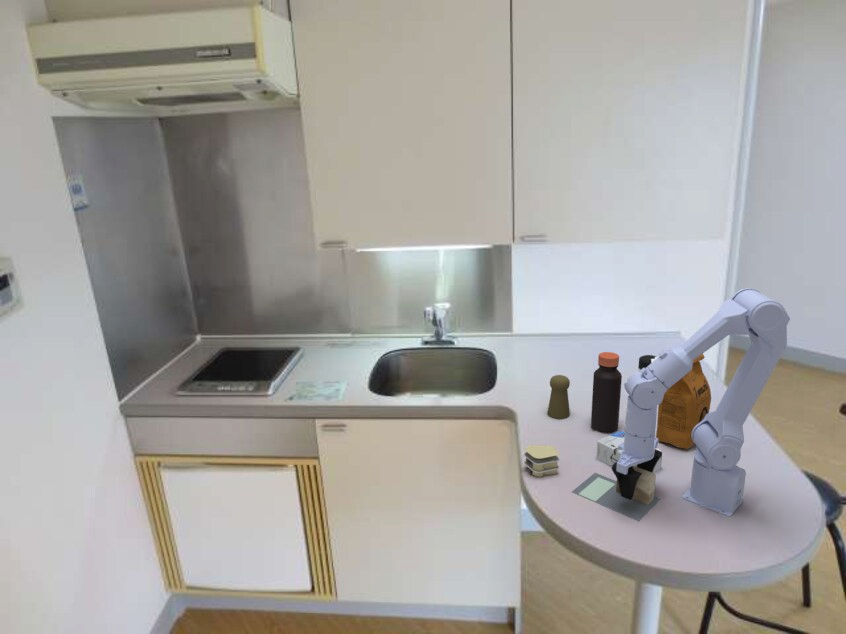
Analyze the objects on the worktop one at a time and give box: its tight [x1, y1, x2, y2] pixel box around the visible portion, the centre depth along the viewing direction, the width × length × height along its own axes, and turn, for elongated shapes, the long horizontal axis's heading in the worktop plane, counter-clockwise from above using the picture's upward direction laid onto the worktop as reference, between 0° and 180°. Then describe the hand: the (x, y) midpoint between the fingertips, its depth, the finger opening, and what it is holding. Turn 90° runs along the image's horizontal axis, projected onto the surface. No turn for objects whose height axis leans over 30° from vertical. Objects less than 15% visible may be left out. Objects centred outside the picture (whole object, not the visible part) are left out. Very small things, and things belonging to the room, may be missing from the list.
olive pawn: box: [546, 374, 571, 420], centre depth 160 cm, size 6×6×11 cm
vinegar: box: [590, 351, 623, 434], centre depth 150 cm, size 7×7×20 cm
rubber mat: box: [571, 472, 661, 522], centre depth 125 cm, size 15×10×1 cm, turn 45°
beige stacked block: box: [523, 444, 561, 478], centre depth 134 cm, size 10×9×6 cm
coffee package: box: [655, 353, 712, 450], centre depth 143 cm, size 10×12×22 cm
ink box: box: [596, 430, 663, 474], centre depth 136 cm, size 9×5×12 cm
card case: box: [616, 466, 657, 505], centre depth 123 cm, size 7×3×6 cm, turn 45°
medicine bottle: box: [634, 354, 659, 373], centre depth 168 cm, size 7×7×12 cm
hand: (635, 489), depth 124 cm, fingers open, 7 cm apart
